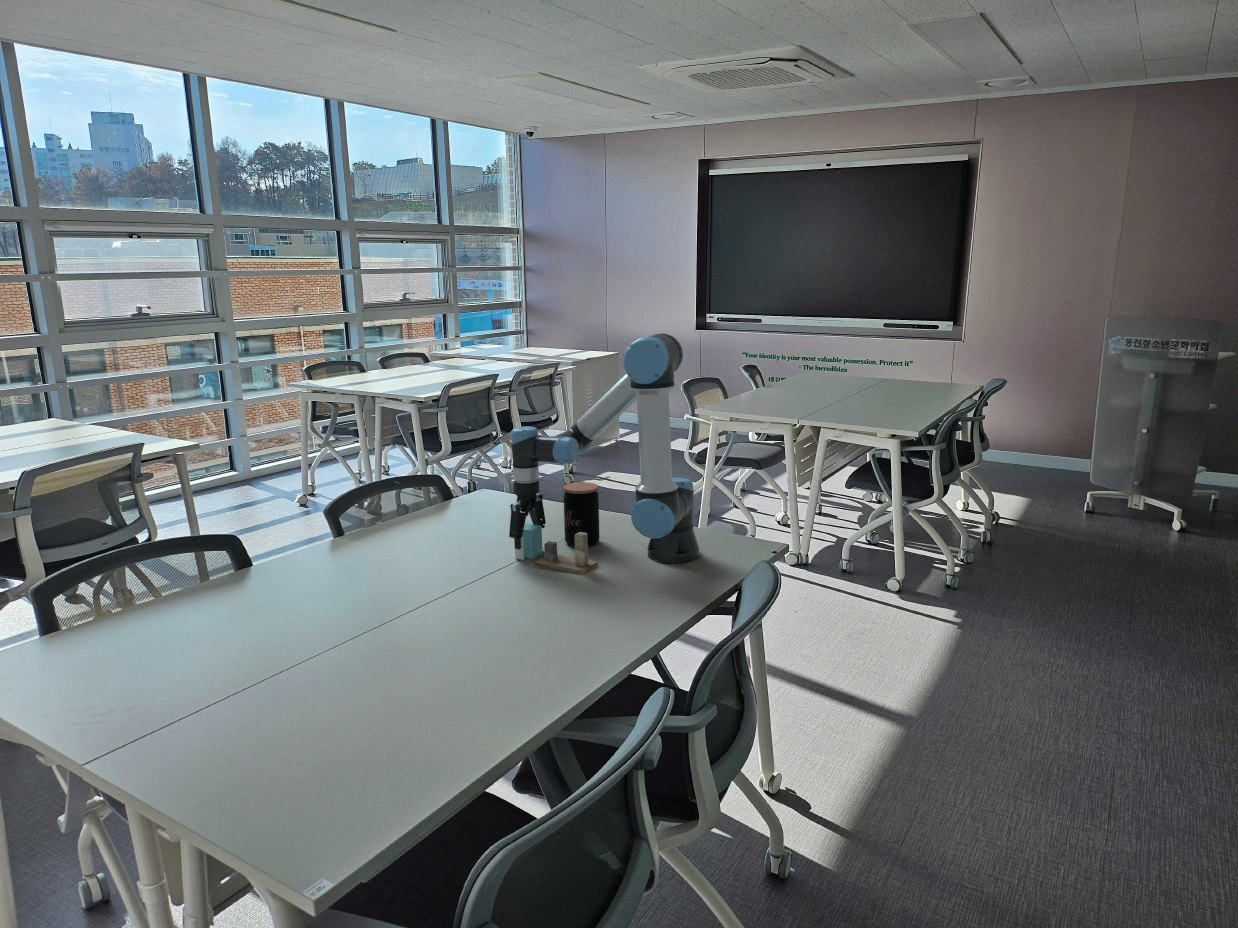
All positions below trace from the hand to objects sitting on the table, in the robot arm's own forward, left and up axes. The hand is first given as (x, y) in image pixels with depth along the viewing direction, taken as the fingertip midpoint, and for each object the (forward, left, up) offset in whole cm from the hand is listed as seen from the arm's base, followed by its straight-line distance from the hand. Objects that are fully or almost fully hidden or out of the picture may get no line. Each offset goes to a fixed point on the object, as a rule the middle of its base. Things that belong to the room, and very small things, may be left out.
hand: (528, 553), depth 247 cm
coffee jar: (-16, +9, 0) cm, 18 cm away
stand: (+4, +15, 0) cm, 16 cm away
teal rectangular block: (0, 0, 0) cm, 0 cm away
